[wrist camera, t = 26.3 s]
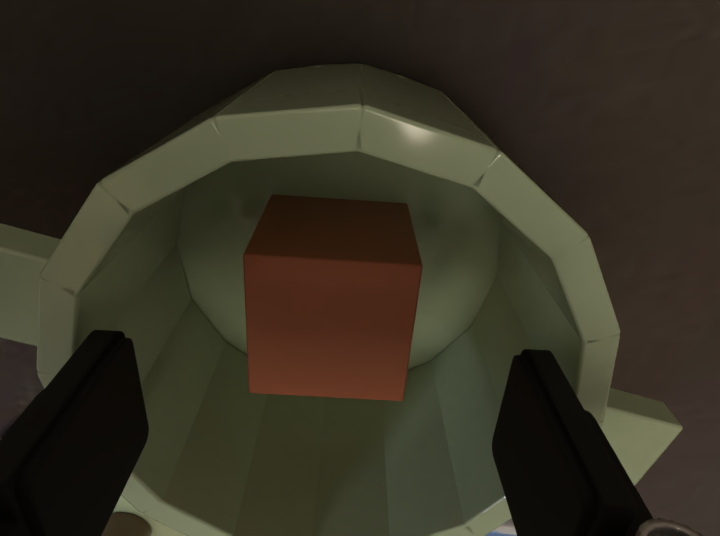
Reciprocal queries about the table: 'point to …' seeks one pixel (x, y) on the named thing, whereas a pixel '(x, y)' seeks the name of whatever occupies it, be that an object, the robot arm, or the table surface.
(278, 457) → the light green round pot
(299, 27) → the table surface
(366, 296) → the block
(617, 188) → the table surface
